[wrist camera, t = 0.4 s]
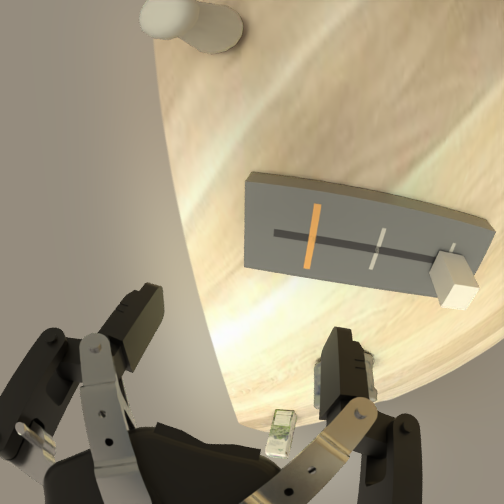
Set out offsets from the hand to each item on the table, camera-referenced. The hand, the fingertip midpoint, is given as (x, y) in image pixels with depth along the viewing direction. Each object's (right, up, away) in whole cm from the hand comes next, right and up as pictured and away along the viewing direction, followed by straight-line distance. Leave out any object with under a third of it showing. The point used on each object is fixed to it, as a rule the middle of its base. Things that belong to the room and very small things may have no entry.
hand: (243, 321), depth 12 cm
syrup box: (+10, -44, +59) cm, 74 cm away
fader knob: (+25, +2, +16) cm, 29 cm away
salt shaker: (-3, +27, +10) cm, 29 cm away
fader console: (+16, +5, +20) cm, 26 cm away
